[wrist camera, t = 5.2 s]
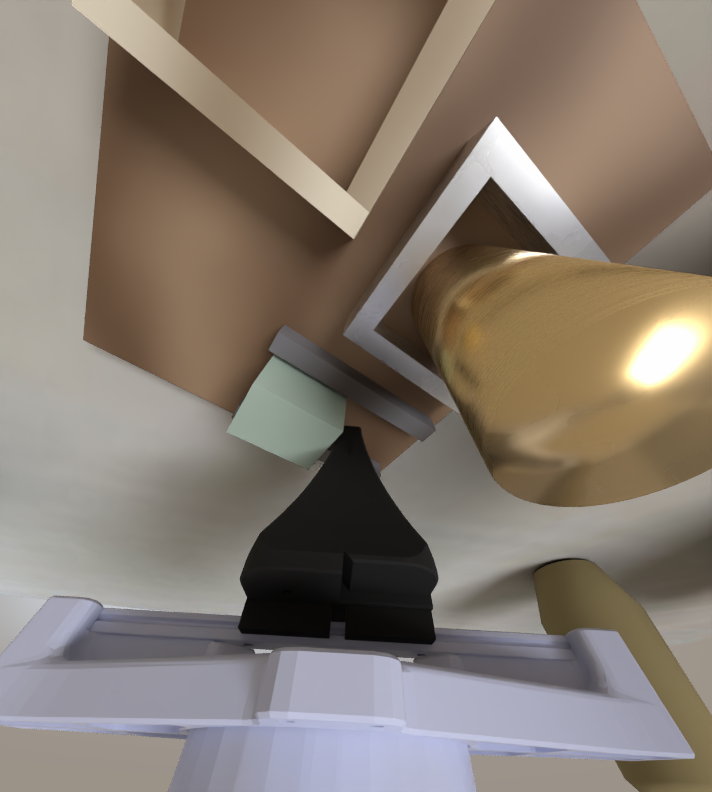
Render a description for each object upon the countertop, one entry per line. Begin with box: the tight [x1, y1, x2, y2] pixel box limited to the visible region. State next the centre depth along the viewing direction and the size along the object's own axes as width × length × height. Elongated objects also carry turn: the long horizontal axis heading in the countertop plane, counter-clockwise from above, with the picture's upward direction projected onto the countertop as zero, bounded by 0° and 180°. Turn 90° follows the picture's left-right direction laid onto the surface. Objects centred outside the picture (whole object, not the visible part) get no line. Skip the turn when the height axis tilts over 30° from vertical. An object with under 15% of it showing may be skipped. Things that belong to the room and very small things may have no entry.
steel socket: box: [343, 116, 611, 415], centre depth 10 cm, size 7×7×2 cm
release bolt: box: [226, 354, 347, 470], centre depth 12 cm, size 4×3×3 cm
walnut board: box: [83, 0, 712, 477], centre depth 10 cm, size 17×19×2 cm
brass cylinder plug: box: [411, 244, 712, 507], centre depth 7 cm, size 4×4×8 cm
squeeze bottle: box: [533, 560, 712, 792], centre depth 18 cm, size 8×8×18 cm
